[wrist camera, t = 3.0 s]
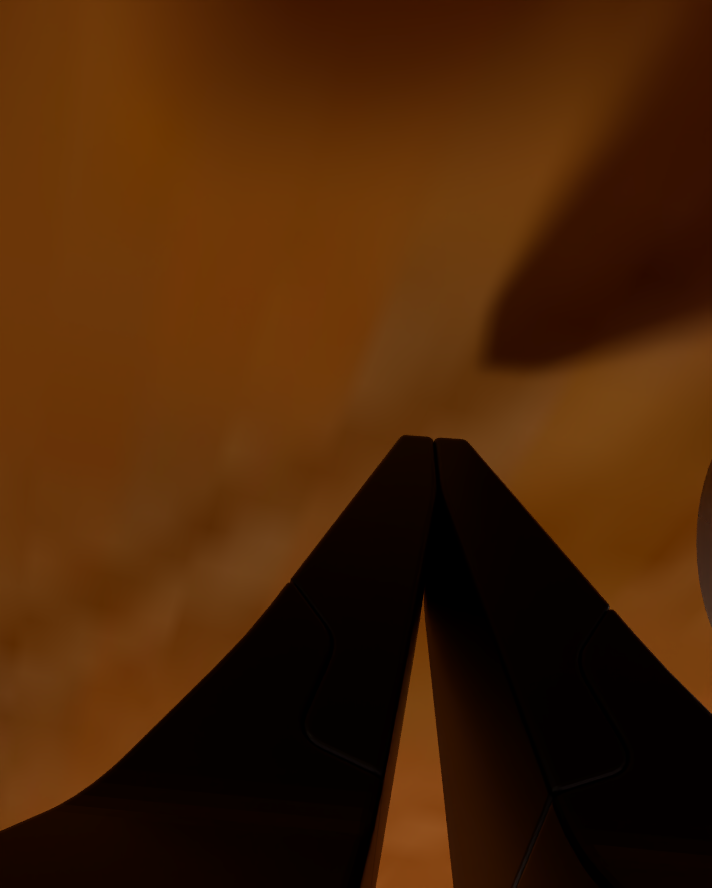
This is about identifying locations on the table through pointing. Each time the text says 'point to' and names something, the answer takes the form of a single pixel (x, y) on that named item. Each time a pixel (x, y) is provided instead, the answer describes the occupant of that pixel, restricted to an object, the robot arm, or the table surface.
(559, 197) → the table surface
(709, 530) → the pin
